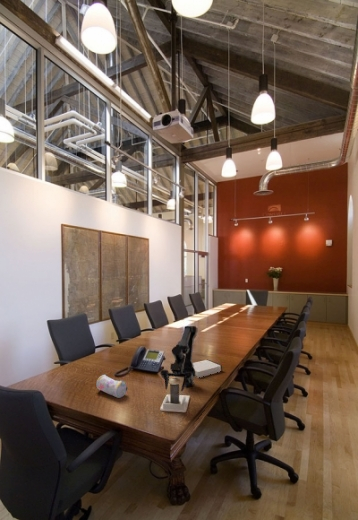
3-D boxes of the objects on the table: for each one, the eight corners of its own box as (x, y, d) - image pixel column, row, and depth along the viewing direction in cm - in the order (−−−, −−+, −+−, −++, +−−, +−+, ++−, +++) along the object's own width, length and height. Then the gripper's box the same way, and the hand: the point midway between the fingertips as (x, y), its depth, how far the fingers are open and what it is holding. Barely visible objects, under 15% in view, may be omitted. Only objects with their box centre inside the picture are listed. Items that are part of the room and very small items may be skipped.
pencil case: (128, 395, 167) (128, 379, 168) (117, 400, 160) (117, 384, 161) (106, 387, 180) (105, 372, 180) (95, 392, 173) (94, 376, 173)
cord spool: (168, 402, 155) (167, 378, 155) (179, 400, 156) (178, 377, 157) (170, 407, 148) (169, 383, 149) (181, 406, 150) (181, 382, 150)
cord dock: (166, 396, 164) (166, 390, 165) (189, 397, 162) (189, 391, 162) (160, 410, 148) (160, 403, 148) (185, 412, 145) (185, 405, 146)
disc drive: (222, 372, 204) (222, 365, 204) (198, 378, 192) (198, 371, 192) (207, 365, 219) (207, 359, 219) (184, 371, 206) (184, 364, 207)
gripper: (161, 355, 160) (154, 382, 149) (191, 358, 154) (187, 385, 143) (165, 364, 167) (159, 390, 156) (195, 367, 162) (191, 394, 151)
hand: (173, 390), depth 151 cm, fingers open, 9 cm apart
